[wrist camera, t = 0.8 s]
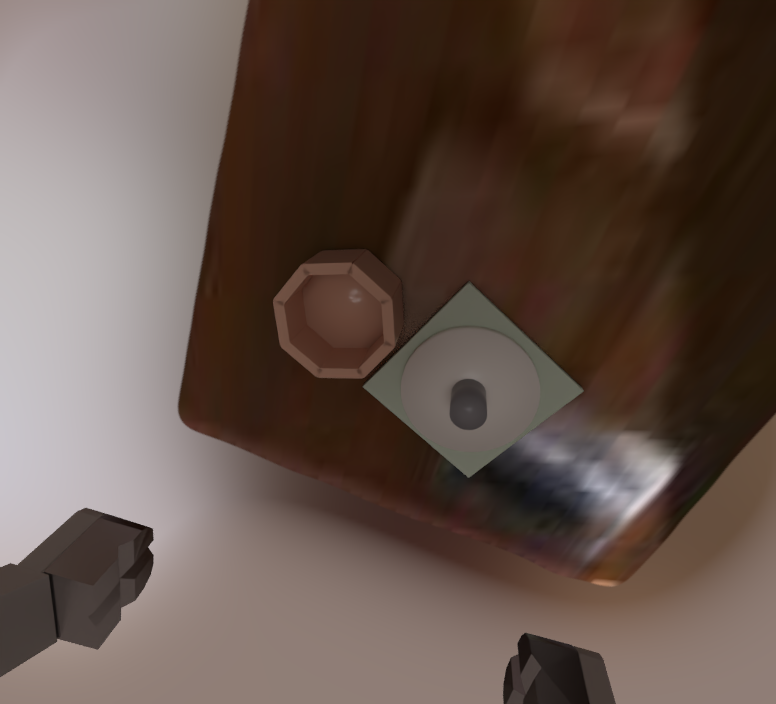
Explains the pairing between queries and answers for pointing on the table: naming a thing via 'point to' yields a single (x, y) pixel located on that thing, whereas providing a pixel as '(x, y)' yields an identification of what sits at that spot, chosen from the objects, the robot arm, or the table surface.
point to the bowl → (340, 313)
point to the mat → (481, 312)
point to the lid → (470, 389)
